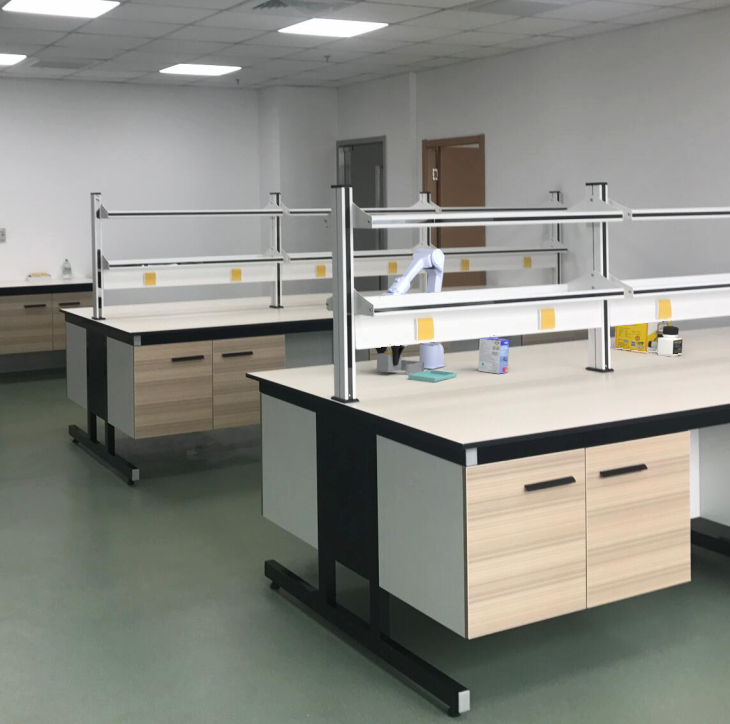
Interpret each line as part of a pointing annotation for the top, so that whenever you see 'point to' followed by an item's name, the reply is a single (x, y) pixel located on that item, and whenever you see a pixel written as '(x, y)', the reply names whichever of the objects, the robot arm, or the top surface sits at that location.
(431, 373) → the teal tray
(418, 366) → the printer bay
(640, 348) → the packaging box
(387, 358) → the toner caddy
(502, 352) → the ink cartridge box
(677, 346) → the medicine bottle
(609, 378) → the top surface
